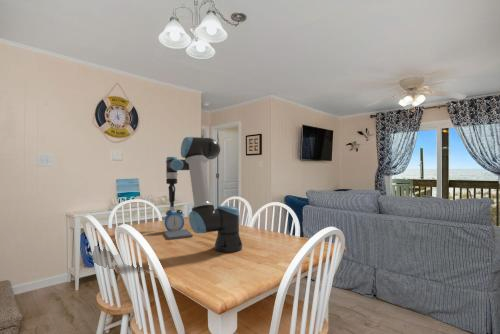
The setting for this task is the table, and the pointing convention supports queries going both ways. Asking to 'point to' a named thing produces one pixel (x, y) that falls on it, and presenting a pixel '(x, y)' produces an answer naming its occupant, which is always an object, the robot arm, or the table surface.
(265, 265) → the table surface
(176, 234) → the mat
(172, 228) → the alarm clock
